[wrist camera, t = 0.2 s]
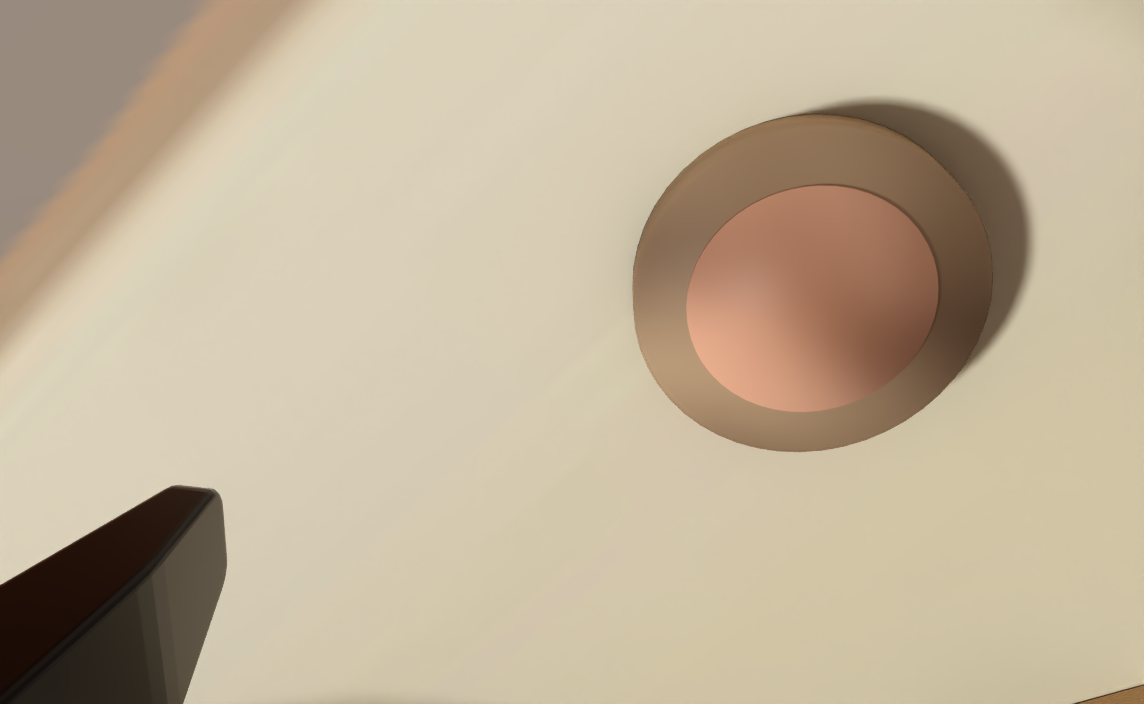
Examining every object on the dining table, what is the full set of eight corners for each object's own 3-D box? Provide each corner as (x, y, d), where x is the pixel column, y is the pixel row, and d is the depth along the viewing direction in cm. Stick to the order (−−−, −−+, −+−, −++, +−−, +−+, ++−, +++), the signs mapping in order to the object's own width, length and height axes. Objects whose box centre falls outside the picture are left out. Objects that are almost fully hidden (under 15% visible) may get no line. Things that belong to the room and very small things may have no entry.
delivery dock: (927, 439, 26) (942, 468, 24) (615, 411, 26) (615, 438, 24) (1019, 131, 22) (1041, 149, 21) (654, 97, 22) (656, 112, 21)
